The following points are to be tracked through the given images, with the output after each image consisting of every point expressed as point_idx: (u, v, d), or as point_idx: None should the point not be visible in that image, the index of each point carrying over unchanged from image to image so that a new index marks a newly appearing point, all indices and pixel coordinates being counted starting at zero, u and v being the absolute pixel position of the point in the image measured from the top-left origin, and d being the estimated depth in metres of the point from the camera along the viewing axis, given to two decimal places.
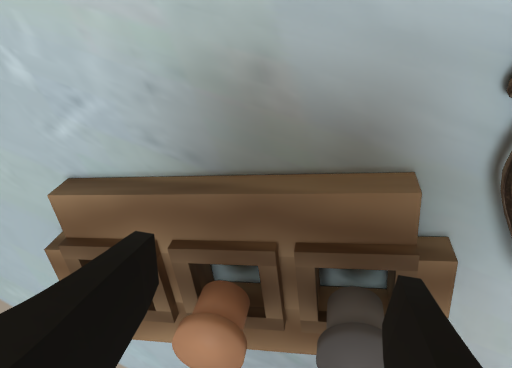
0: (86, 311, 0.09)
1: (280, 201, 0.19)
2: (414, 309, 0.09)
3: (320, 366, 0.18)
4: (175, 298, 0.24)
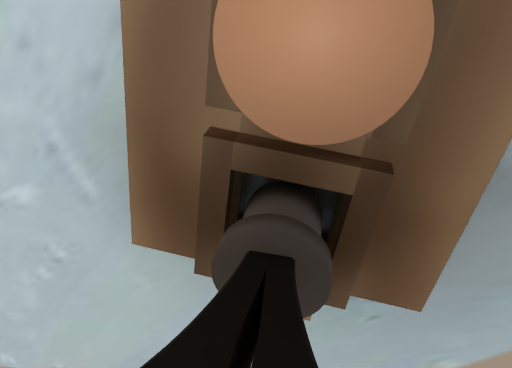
0: (239, 342, 0.08)
1: None
2: (266, 283, 0.09)
3: None
4: (350, 152, 0.12)
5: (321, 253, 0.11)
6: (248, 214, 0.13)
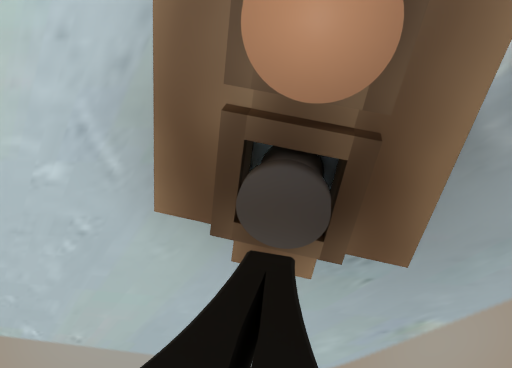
0: (239, 342, 0.08)
1: None
2: (266, 282, 0.09)
3: None
4: (345, 124, 0.15)
5: (323, 187, 0.14)
6: None
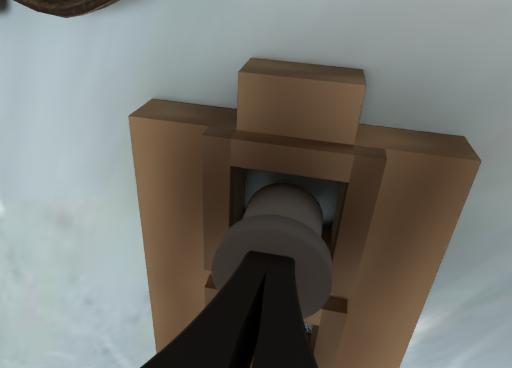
0: (239, 342, 0.08)
1: (154, 256, 0.17)
2: (266, 283, 0.09)
3: None
4: None
5: None
6: None
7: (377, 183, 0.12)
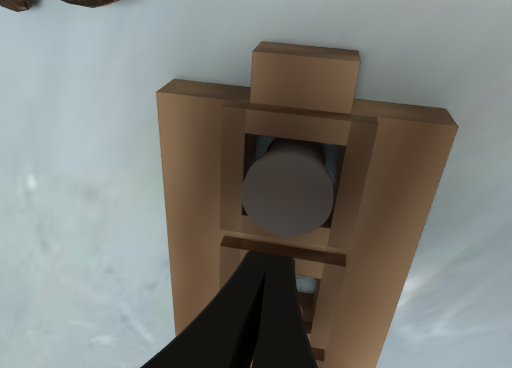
0: (240, 342, 0.08)
1: (175, 220, 0.19)
2: (266, 283, 0.09)
3: (290, 233, 0.16)
4: None
5: None
6: None
7: (370, 146, 0.15)
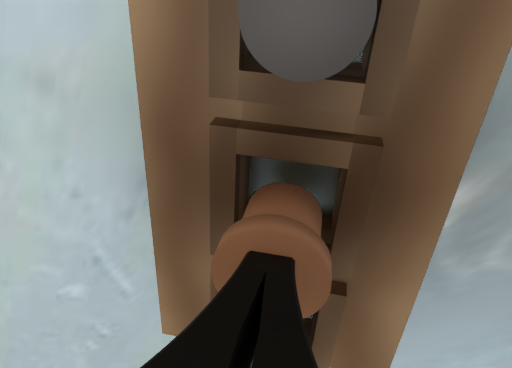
0: (240, 342, 0.08)
1: (149, 97, 0.14)
2: (266, 282, 0.09)
3: (310, 76, 0.11)
4: None
5: None
6: None
7: None
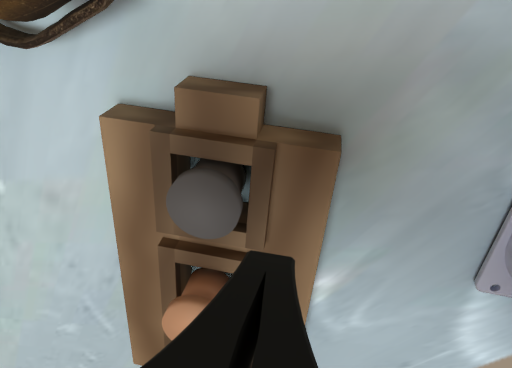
0: (239, 341, 0.08)
1: (121, 223, 0.23)
2: (266, 283, 0.09)
3: (208, 236, 0.19)
4: None
5: None
6: None
7: (270, 166, 0.18)
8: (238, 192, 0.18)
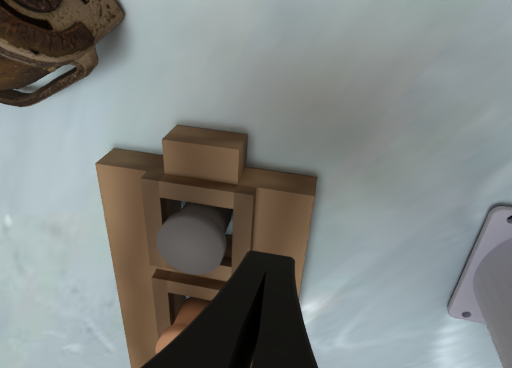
0: (240, 342, 0.08)
1: (118, 256, 0.24)
2: (266, 283, 0.09)
3: (195, 272, 0.21)
4: None
5: None
6: None
7: (250, 209, 0.20)
8: (221, 233, 0.20)
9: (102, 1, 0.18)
